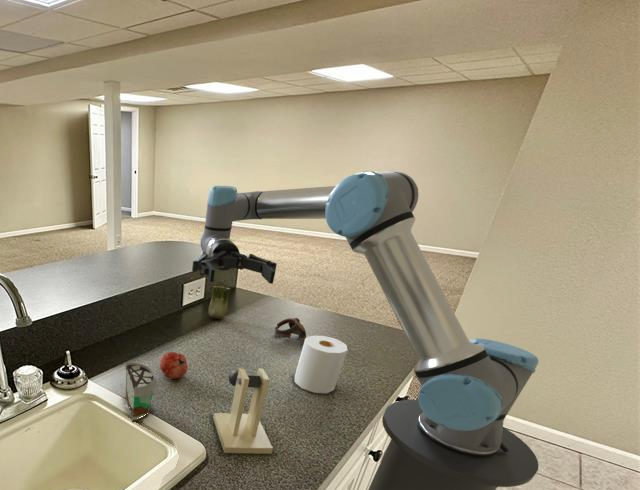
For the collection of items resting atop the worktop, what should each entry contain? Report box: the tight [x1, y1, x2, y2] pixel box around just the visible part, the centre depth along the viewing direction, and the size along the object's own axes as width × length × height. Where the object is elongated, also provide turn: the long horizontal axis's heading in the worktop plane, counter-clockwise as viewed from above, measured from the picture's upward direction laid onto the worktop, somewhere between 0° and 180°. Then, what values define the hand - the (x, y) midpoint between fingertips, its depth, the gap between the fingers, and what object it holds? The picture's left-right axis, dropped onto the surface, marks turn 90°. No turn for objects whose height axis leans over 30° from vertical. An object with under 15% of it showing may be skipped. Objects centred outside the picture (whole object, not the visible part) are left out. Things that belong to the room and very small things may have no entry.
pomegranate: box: [159, 351, 189, 380], centre depth 109 cm, size 7×7×10 cm
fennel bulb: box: [208, 285, 231, 320], centre depth 144 cm, size 6×5×12 cm
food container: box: [125, 361, 158, 423], centre depth 94 cm, size 12×6×10 cm, turn 9°
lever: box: [228, 370, 260, 389], centre depth 88 cm, size 14×4×4 cm, turn 1°
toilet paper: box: [294, 335, 348, 394], centre depth 106 cm, size 10×10×12 cm
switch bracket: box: [212, 367, 274, 455], centre depth 85 cm, size 12×10×16 cm
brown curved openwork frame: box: [274, 317, 307, 346], centre depth 132 cm, size 12×10×8 cm
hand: (242, 276), depth 90 cm, fingers open, 13 cm apart
